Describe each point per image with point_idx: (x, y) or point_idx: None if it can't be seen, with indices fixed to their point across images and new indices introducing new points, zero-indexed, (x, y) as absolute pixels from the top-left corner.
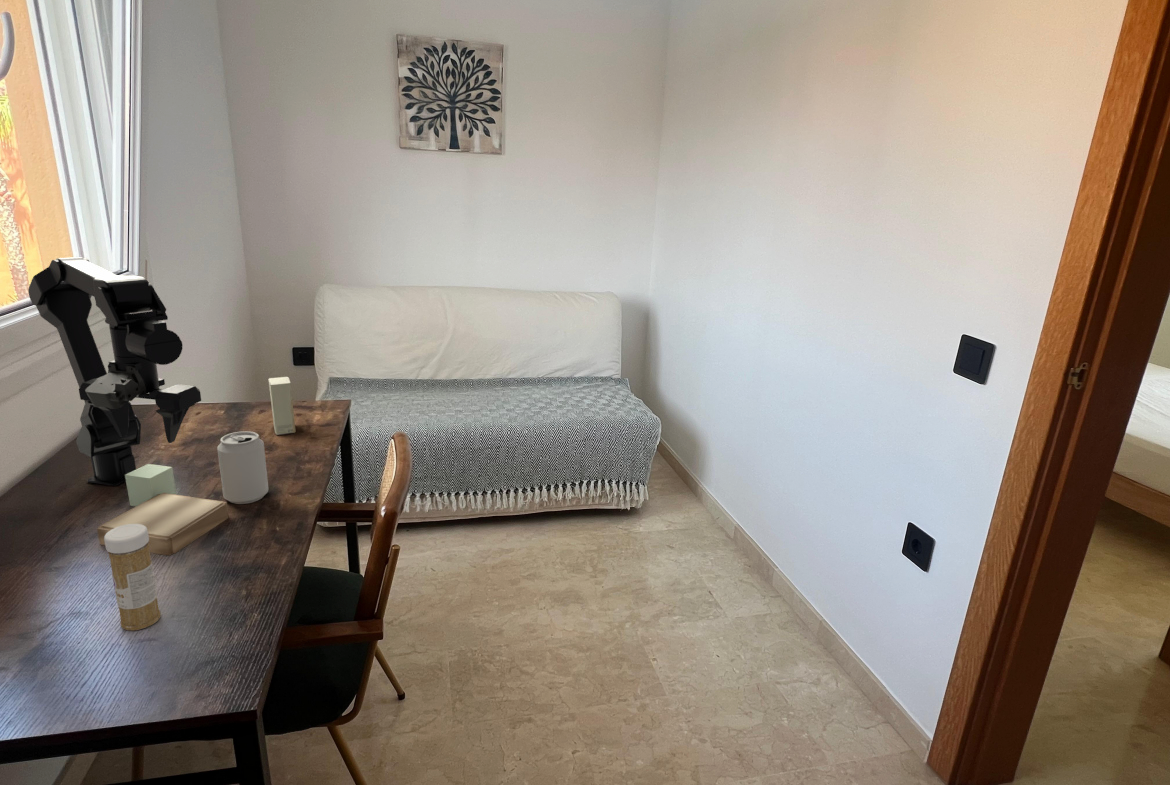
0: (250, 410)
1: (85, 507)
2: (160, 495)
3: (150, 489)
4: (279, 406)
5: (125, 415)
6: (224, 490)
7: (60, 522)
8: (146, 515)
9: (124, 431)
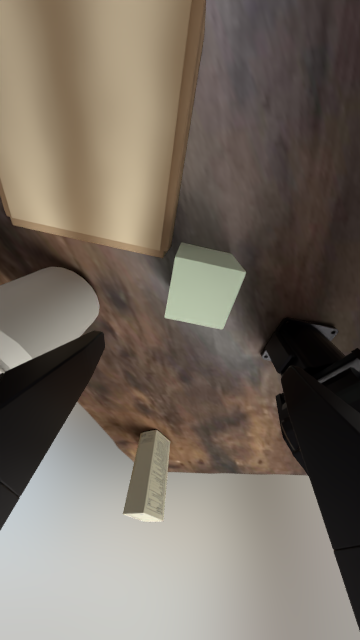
0: (212, 464)
1: (310, 239)
2: (156, 240)
3: (180, 250)
4: (143, 470)
5: (321, 473)
6: (68, 280)
7: (344, 158)
8: (113, 108)
9: (293, 387)
